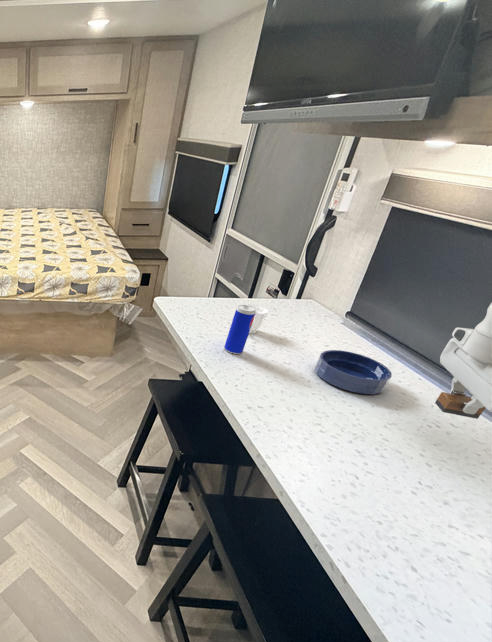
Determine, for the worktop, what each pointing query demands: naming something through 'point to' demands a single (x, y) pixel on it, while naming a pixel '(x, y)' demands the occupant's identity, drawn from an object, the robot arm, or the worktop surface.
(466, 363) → the robot arm
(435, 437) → the worktop surface
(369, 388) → the bowl
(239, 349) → the beverage can
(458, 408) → the eraser
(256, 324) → the cup
